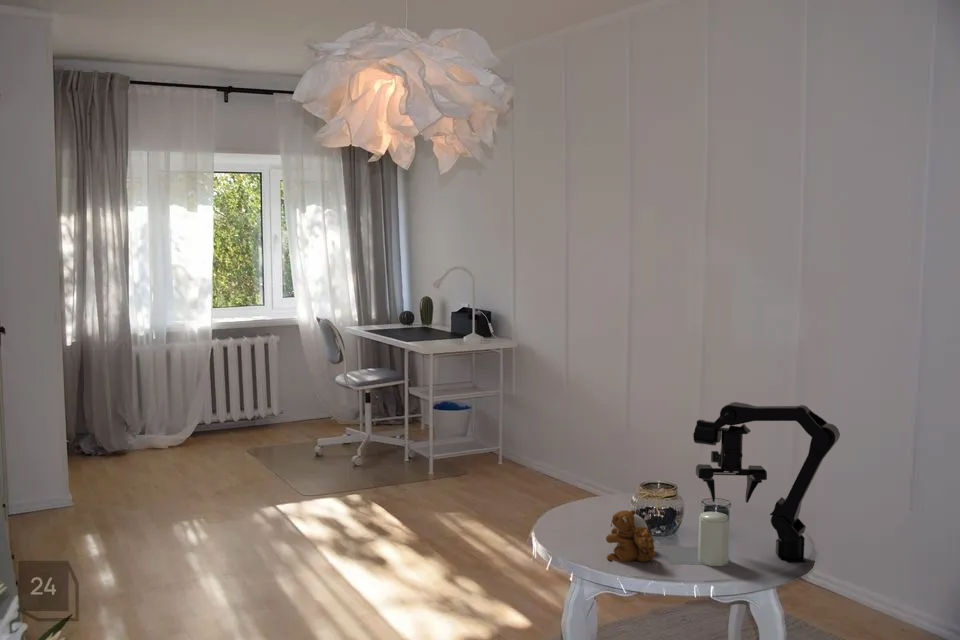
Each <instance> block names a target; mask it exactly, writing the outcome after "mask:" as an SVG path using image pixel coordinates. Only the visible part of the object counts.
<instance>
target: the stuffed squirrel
mask: <svg viewBox="0 0 960 640" xmlns="http://www.w3.org/2000/svg"><path fill="white" fill-rule="evenodd" d="M635 514H636V510H634V509H631V510H628V509H627V510H625V509H624V510H620V511H617V512H616V513H613V515H612V518H611V524H610V527H611V533H610V534H609V533H608V534H607V535H606V537H605V540H606V541H605V542H607V543H609V544H613V543H615V547H614V549H613V552H611V553H609V554H607V556H606V559H607V560H608V561H611V562H613V561H616V562H624V563H626V562H633V561H637V562H642V563H645V562H648V561H649V562H650V560H652V559H653V558H654V557H655V555H656V552H655V546H654V545H655V544H654V541H655V540H654V538H653V535H651V531H650V530H649V529H647V528H645V527H641V526H639V527H637V528H636V527H635V525H634V515H635ZM614 526H615V527H616V528H613V527H614Z"/></svg>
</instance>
